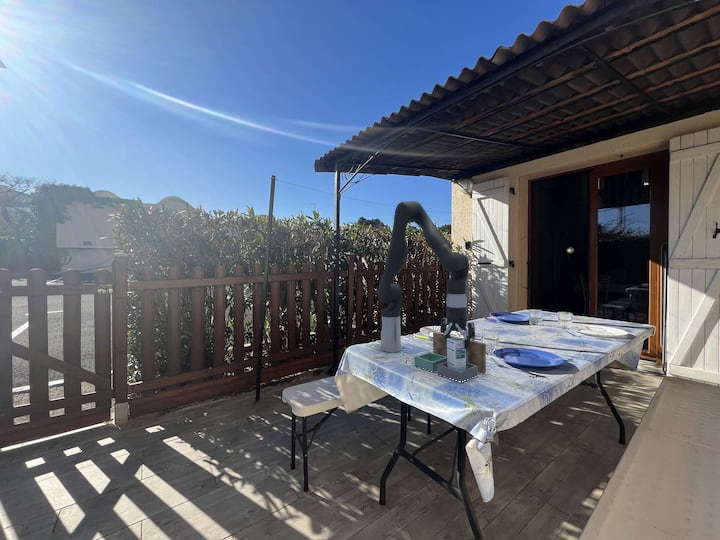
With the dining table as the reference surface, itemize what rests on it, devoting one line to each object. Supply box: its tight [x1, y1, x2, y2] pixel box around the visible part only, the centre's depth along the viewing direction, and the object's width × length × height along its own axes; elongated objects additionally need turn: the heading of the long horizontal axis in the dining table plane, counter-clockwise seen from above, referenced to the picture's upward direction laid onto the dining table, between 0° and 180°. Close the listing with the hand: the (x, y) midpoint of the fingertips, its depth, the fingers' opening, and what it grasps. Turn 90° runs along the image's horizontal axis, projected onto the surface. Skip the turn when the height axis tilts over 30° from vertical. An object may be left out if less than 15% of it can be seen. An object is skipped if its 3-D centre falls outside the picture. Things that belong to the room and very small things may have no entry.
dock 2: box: [436, 361, 479, 382], centre depth 122 cm, size 11×11×4 cm
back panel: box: [432, 331, 487, 375], centre depth 133 cm, size 25×2×12 cm, turn 37°
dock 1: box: [413, 351, 447, 373], centre depth 132 cm, size 10×10×4 cm
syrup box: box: [447, 336, 468, 371], centre depth 122 cm, size 6×6×14 cm
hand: (457, 346), depth 121 cm, fingers open, 8 cm apart
